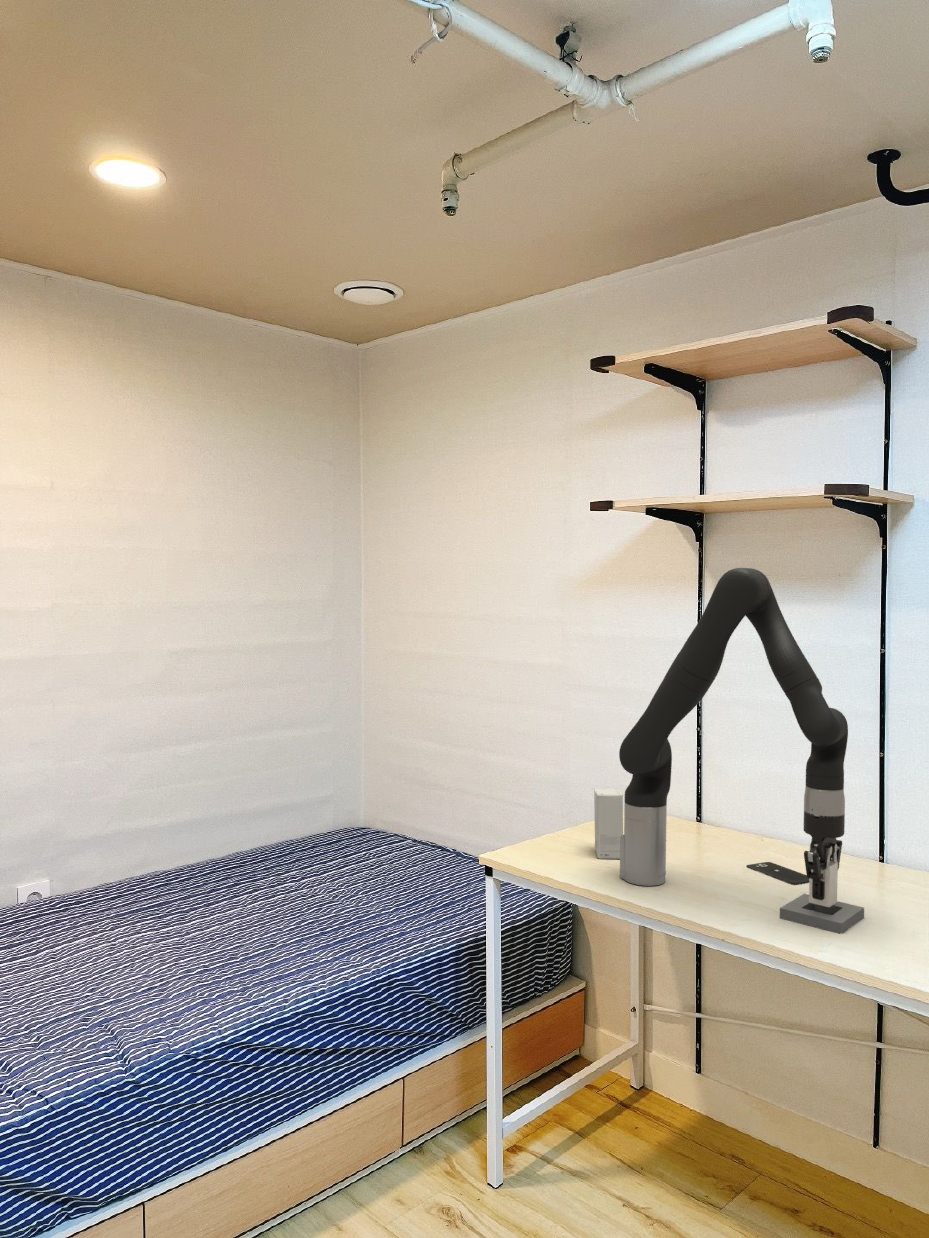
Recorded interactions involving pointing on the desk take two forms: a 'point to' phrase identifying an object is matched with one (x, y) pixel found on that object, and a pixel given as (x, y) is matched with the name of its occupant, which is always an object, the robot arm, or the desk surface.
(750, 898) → the desk surface
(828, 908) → the socket plate
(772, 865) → the smartphone
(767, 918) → the desk surface
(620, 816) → the skincare box
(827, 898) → the charger
